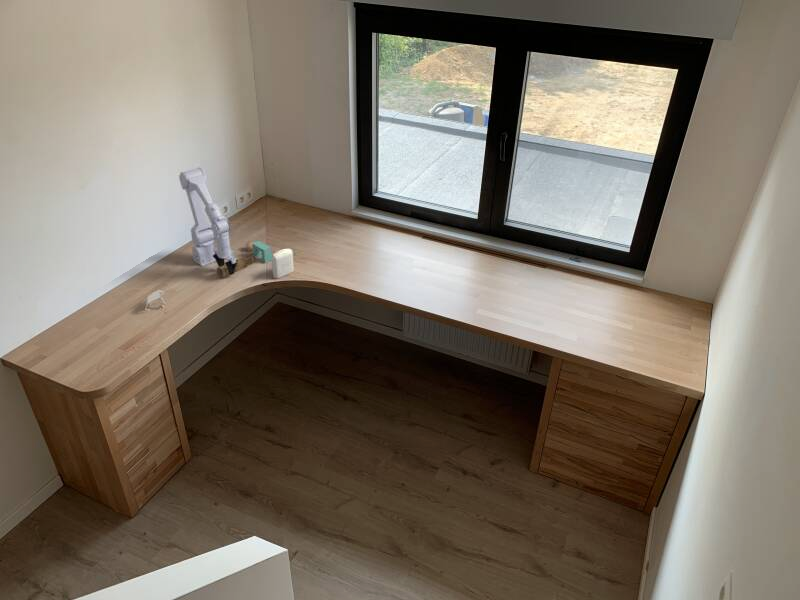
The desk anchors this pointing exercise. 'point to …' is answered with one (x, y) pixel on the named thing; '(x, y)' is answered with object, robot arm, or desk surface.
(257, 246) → the teal angular block
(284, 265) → the photo printer
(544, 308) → the desk surface
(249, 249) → the bead
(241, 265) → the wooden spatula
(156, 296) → the origami figure
